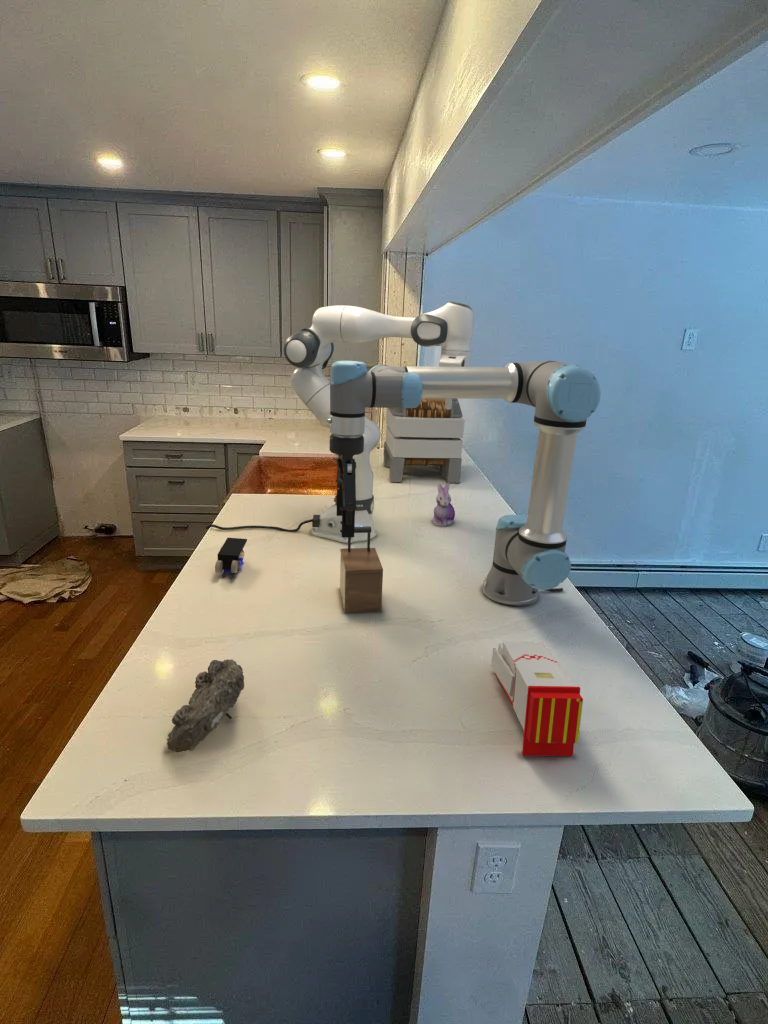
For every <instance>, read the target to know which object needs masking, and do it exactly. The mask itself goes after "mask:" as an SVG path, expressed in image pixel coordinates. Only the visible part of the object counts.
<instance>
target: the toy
mask: <svg viewBox="0 0 768 1024" xmlns="http://www.w3.org/2000/svg"><path fill="white" fill-rule="evenodd" d="M490 663H491V664H490V668H491V669H492V670H493V672H494V675H495V676H496V678H497V680H498V682H499V684H500V685H501V687H502V689H503V691H504V693H505V696H506V697H507V699H508V700H509V702H510V704H511V706H512V708H513V711H514V713H515V715H516V717H517V719H518V721H519V723H520V726H521V728H522V730H523V737H522V748H521V755H522V756H528V757H529V756H530V757H531V756H534V757H535V756H536V757H537V756H538V757H540V756H541V757H573V756H574V750H575V749H574V748H575V744H578V743H579V737H580V728H581V719H582V711H583V702H584V698H583V696H582V695H581V687H580V686H575V685H574V684H573V682H572V681H571V680H570V678H569V676H568V675H567V674H566V672H565V671H564V669H563V668H562V667H561V665H560V664H559V662H558V661H557V659H556V658H555V656H554V655H553V654H552V653H551V650H550V648H549V647H547V646H546V644H545V642H543V641H502V642H498V648H497V647H493V648H492V654H491V662H490Z"/></svg>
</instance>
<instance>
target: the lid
mask: <svg viewBox="0 0 768 1024" xmlns="http://www.w3.org/2000/svg"><path fill="white" fill-rule="evenodd" d="M354 533H368V536H367V540H366V541H367V542H366V547H352V543H351V537H348V543H347V548H345V547H344V548H340V549H339V550H340V558H341V557H342V561H343V566H344V570H345V574H362V573H383V574H384V567H383V565H382V563H381V560H380V557H379V555H378V552H377V549H376V547H371V539H370V533H371V526H355V528H354Z"/></svg>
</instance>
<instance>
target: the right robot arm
mask: <svg viewBox="0 0 768 1024" xmlns="http://www.w3.org/2000/svg"><path fill="white" fill-rule="evenodd" d="M329 382H330V417H331V419H328V420H327V423H331V424H330V428H329V432H330V433H331V434H330V435H329V452H330V453H331V454H333V455H336V454H337V455H338V457H337V459H336V479H335V482H336V487H337V489H336V495H337V516H342V538H343V537H354V528H355V510H356V508H357V506H356V481H355V478H356V473H355V470H356V462H355V459H353V456H354V455H359V454H361V453H363V451H364V437H363V435H362V434H364V432H365V417H366V408H371V409H373V408H379V409H387V408H403V409H405V408H416V407H418V406H419V404H420V402H421V399H458V400H459V399H461V400H462V399H469V400H470V399H471V400H472V399H473V400H475V399H477V400H478V399H480V400H481V399H482V400H483V399H485V400H487V399H489V400H491V399H493V400H494V399H496V400H498V399H499V400H500V399H503V401H504V402H506V403H507V404H522V405H526V406H530V407H533V408H534V415H533V424H534V425H535V427H537V429H538V435H537V442H536V450H535V456H534V457H535V458H534V465H533V471H532V480H531V486H530V492H529V493H530V494H529V502H528V508H527V515H526V514H506V515H503V516H500V517H499V518H498V520H497V524H496V527H495V537H494V538H495V539H494V546H493V547H494V548H493V556H492V564H491V567H490V569H489V572H488V574H487V575H486V576H485V577H484V579H483V585H482V592H483V594H484V595H485V597H487V598H488V599H489V600H491V601H493V602H495V603H496V604H497V603H498V604H501V605H505V606H510V607H526V606H529V605H532V604H534V603H536V602H537V600H538V596H539V591H546V592H553V593H554V592H563V591H564V588H563V587H559V588H556V587H558V586H559V585H560V584H562V583H564V581H566V579H567V578H568V577H569V575H570V573H571V569H572V562H571V559H570V557H569V555H568V553H566V548H567V547H566V546H567V541H568V535H567V534H566V533H565V531H564V530H563V525H564V518H565V512H566V506H567V500H568V493H569V487H570V481H571V474H572V468H573V463H574V457H575V451H576V444H577V437H578V434H579V433H581V431H583V430H584V429H585V428H586V426H587V421H588V419H589V418H590V417H591V416H592V414H593V413H595V412H596V410H597V408H598V406H599V405H600V400H601V386H600V383H599V380H598V379H597V377H596V375H594V373H592V372H591V371H590V370H589V369H587V368H585V367H582V366H580V365H578V364H572V363H566V362H561V361H557V360H551V359H550V360H549V359H548V360H536V361H525V362H508V363H506V365H505V366H470V367H439V366H425V365H424V366H417V365H416V366H413V365H412V366H410V365H409V366H408V365H407V366H401V365H400V366H398V365H397V366H395V365H392V366H391V365H387V364H377V365H374V366H373V367H371V368H370V369H369V370H368V368H367V364H366V363H365V362H363V361H360V360H359V361H358V360H337V361H334V362H333V363H332V364H331V367H330V380H329ZM337 455H336V456H337ZM348 503H352V504H348Z"/></svg>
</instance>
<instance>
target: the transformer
mask: <svg viewBox="0 0 768 1024" xmlns="http://www.w3.org/2000/svg"><path fill="white" fill-rule="evenodd" d="M385 414H386V415H385V423H386V428H385V438H384V442H383V466H384V467H388V468H389V475H388V476H389V477H388V478H389V480H390V482H391V483H402V482H403V475H404V469H405V466H406V467H407V466H411V467H412V466H413V467H415V466H416V467H417V466H418V467H436V468H437V470H438V469H439V473H440V474H441V475H443V478H444V479H445V481H446V482H447V483H449V484H455V483H456V484H459V483H461V472H462V461H463V460H462V453H463V442H464V441H463V440H462V439H463V438H464V431H465V430H464V429H465V419H464V418H463V411H462V408H461V405H460V402H459V401H458V402H457V404H456V405H452V408H451V409H450V410H449V409H445V399H421V402H420V404H419V406H418V407H416V408H405V409H403V408H386V413H385Z"/></svg>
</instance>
